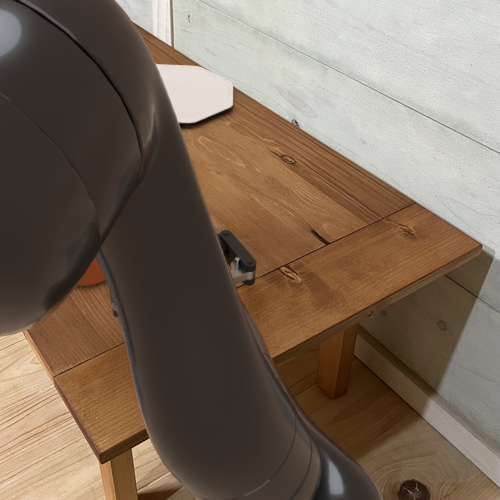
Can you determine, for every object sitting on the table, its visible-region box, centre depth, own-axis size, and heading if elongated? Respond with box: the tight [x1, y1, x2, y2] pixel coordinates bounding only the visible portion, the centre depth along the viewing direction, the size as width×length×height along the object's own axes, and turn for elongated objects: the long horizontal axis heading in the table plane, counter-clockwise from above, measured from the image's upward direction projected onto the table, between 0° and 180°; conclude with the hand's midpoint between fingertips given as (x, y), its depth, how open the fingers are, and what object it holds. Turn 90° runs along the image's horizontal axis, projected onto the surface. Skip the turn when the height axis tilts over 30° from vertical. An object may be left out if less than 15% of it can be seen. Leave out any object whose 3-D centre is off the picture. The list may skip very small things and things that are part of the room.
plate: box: [156, 63, 234, 125], centre depth 115 cm, size 24×24×2 cm
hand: (156, 225), depth 62 cm, fingers closed on pill bottle, 6 cm apart
